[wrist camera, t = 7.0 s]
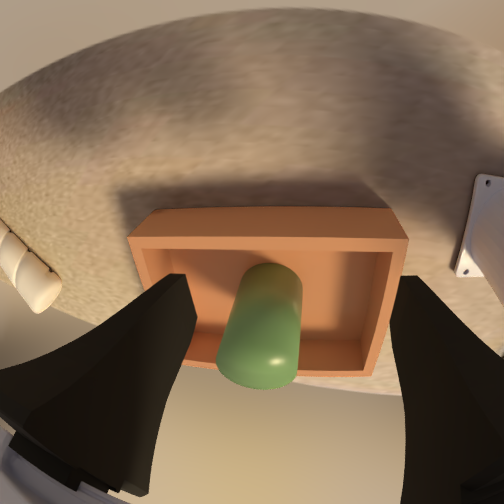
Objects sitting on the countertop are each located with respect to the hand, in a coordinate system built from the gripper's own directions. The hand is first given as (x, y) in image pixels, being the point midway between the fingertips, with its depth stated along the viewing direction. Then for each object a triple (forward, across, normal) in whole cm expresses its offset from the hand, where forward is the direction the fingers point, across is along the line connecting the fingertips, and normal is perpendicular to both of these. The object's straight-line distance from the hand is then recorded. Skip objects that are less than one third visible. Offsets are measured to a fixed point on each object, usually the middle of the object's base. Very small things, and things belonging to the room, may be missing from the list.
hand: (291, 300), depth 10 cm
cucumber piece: (+9, +2, +7) cm, 12 cm away
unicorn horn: (+10, +33, +1) cm, 35 cm away
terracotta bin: (+10, +2, +7) cm, 12 cm away
